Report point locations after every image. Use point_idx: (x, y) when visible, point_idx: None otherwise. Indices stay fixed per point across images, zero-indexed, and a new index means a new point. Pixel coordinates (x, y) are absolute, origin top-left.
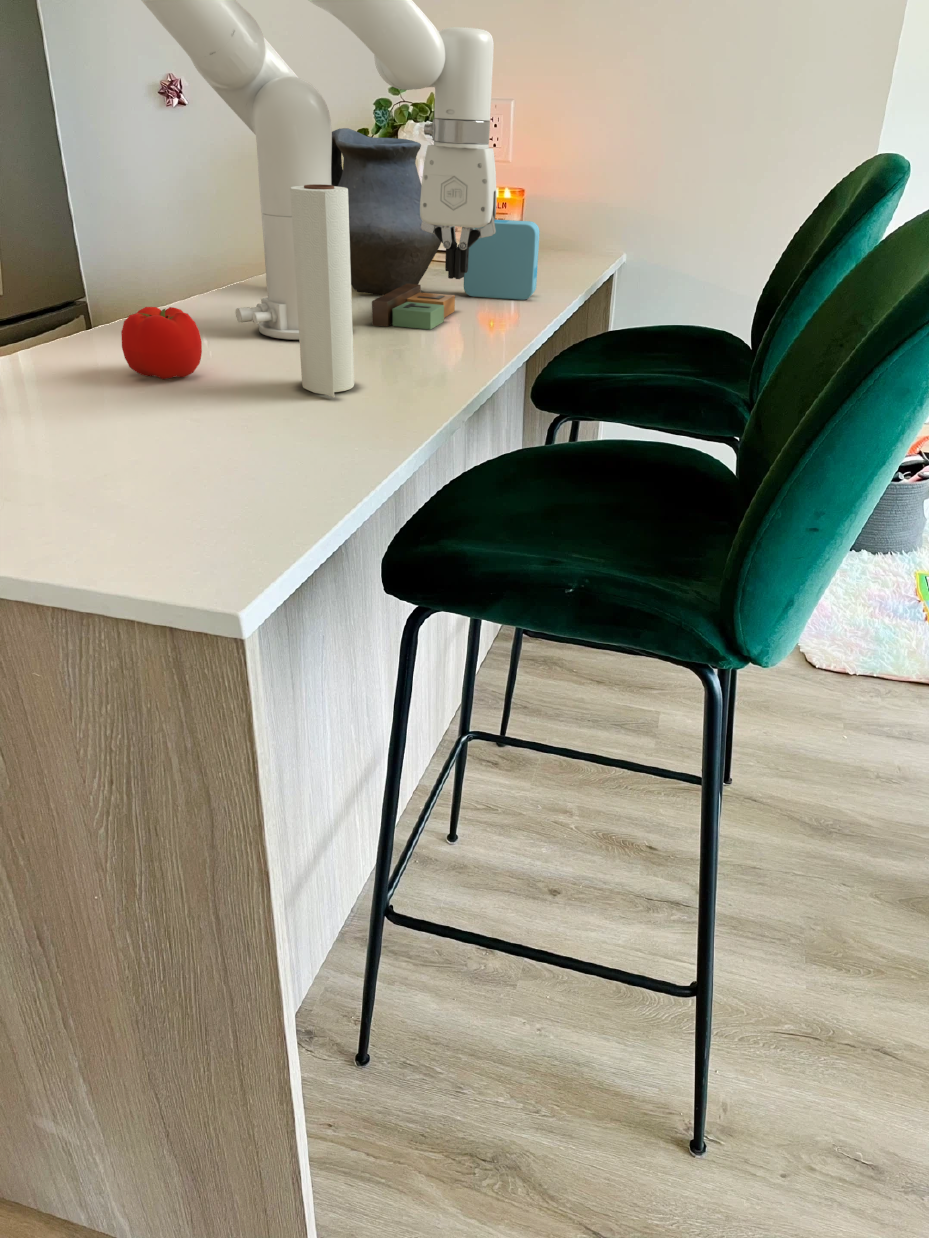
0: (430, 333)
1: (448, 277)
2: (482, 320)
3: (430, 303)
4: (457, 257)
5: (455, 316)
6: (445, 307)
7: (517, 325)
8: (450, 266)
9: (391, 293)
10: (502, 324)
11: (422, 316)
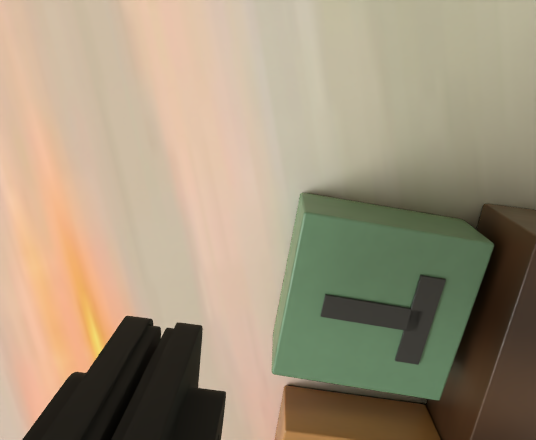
0: (291, 131)
1: (200, 327)
2: None
3: (340, 431)
4: (78, 416)
5: (249, 430)
6: (280, 431)
7: (4, 345)
8: (167, 367)
9: (526, 435)
10: (59, 349)
11: (342, 212)
